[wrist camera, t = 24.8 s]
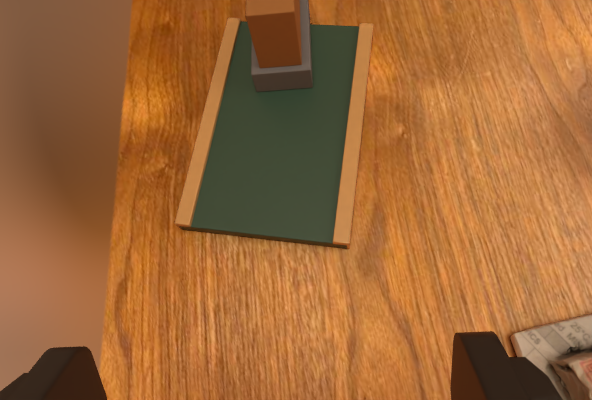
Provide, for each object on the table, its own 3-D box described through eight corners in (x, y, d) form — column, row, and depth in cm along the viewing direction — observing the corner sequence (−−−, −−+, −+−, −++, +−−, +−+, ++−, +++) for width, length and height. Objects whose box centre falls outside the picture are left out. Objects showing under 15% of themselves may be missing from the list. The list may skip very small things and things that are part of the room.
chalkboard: (180, 229, 35) (174, 223, 33) (231, 28, 42) (227, 17, 40) (349, 249, 33) (349, 243, 31) (372, 34, 40) (373, 23, 39)
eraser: (312, 88, 37) (305, 16, 30) (256, 92, 38) (235, 22, 30) (309, 14, 40) (301, -68, 33) (257, 19, 41) (237, -61, 33)
